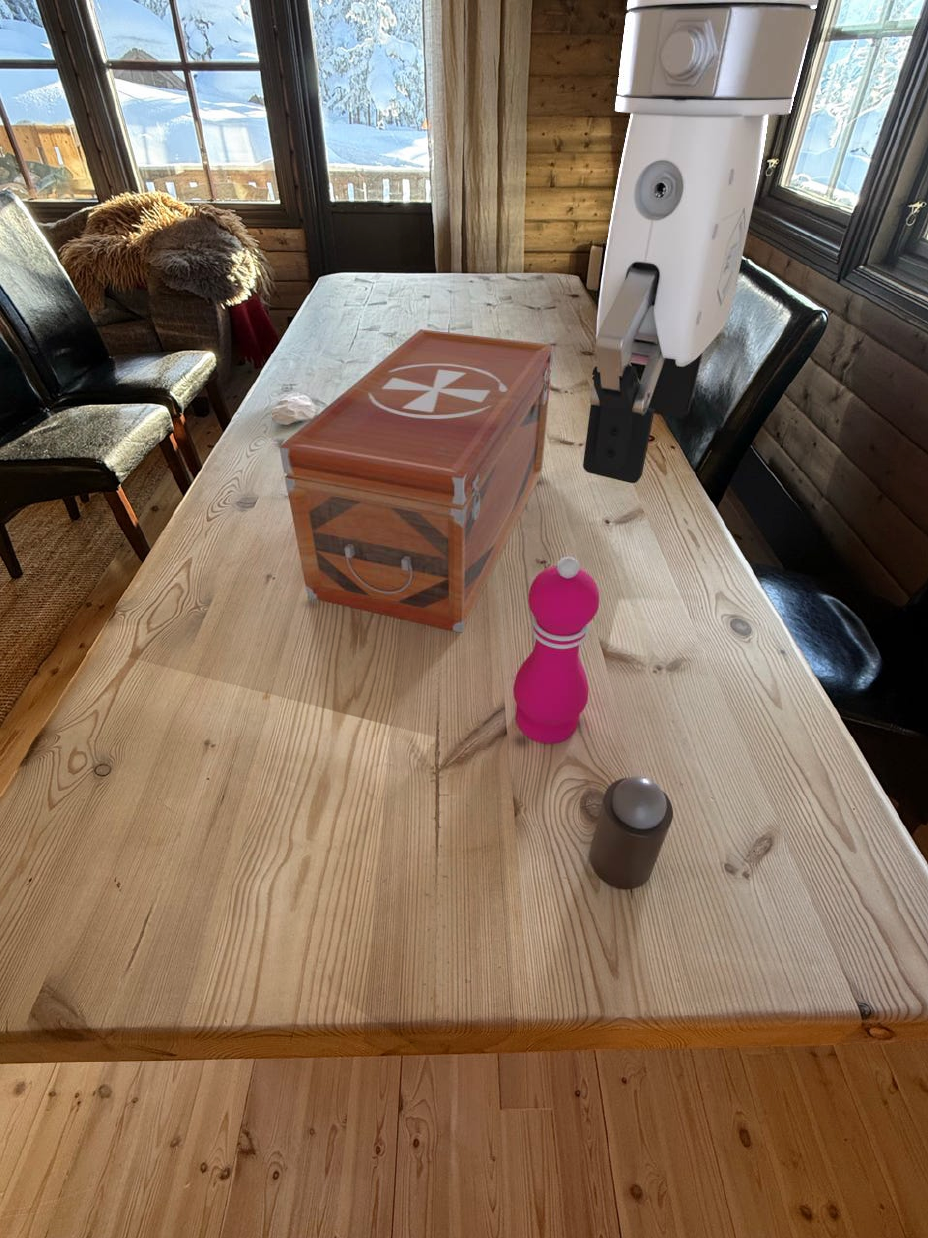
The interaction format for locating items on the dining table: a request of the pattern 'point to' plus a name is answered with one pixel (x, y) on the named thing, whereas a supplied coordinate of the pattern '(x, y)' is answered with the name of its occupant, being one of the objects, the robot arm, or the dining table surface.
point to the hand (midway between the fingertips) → (638, 441)
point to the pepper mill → (556, 653)
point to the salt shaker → (630, 832)
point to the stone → (293, 409)
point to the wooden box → (420, 476)
